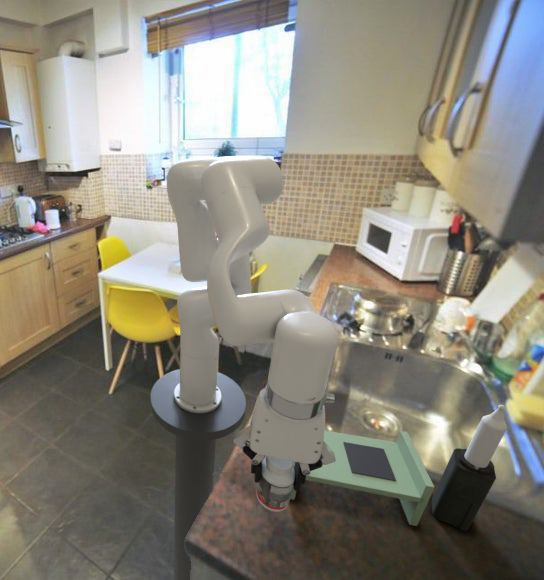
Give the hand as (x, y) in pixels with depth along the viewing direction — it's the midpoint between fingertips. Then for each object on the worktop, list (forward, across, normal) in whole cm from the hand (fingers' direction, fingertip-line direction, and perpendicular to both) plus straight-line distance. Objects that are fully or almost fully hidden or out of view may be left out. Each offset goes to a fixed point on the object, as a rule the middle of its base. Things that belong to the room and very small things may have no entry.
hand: (276, 478), depth 60 cm
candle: (+11, -32, -9) cm, 35 cm away
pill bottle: (+5, 0, 0) cm, 5 cm away
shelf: (+11, -14, -11) cm, 21 cm away
